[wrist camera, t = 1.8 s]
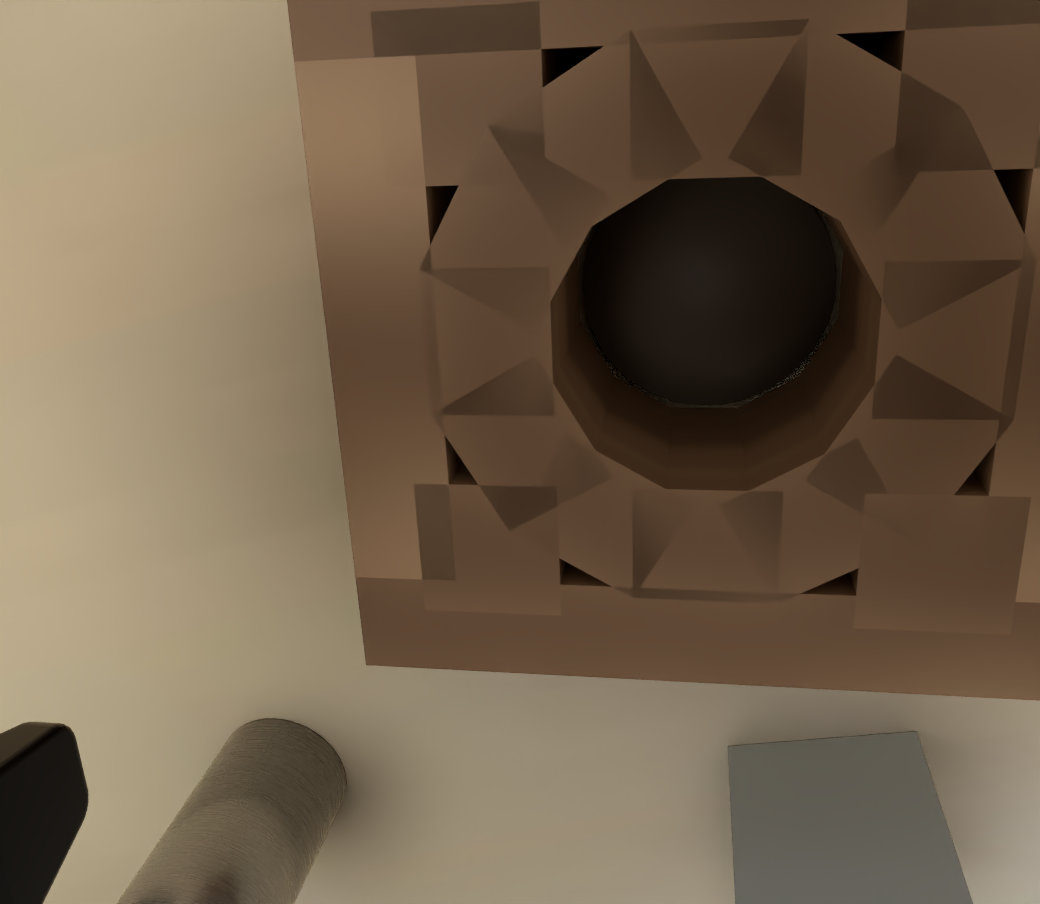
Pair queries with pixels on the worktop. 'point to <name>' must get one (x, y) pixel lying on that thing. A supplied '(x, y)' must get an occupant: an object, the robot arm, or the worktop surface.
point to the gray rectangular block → (840, 824)
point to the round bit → (248, 822)
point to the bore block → (686, 335)
